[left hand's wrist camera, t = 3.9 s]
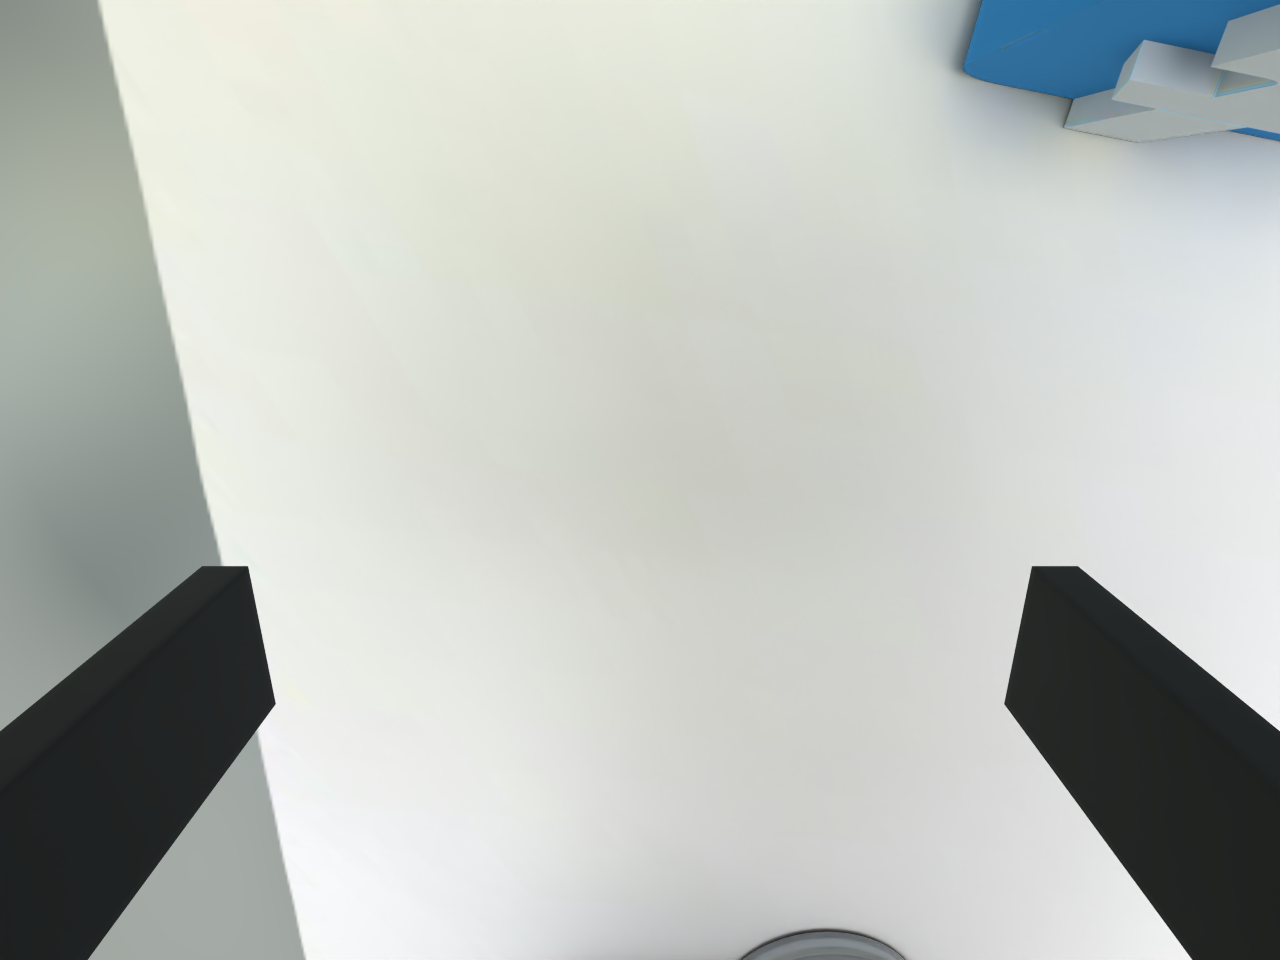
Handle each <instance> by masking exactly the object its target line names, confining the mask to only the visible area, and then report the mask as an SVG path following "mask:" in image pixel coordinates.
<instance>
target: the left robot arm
mask: <svg viewBox="0 0 1280 960" xmlns="http://www.w3.org/2000/svg"><path fill="white" fill-rule="evenodd" d="M275 704H276V703H275V698H274V693H273V688H272V683H271V679H270V674H269V669H268V664H267V659H266V654H265V649H264V644H263V639H262V634H261V629H260V624H259V619H258V614H257V609H256V604H255V599H254V594H253V589H252V584H251V579H250V574H249V569H248V566H202V567H201V568H200V569H198V570H197V571H196V572H195V573H193V574H192V575H191V576H190V577H189V578H187V579H186V580H185V581H184V582H182V583H181V584H180V585H179V586H178V587H176V588H175V589H174V590H173V591H171V592H170V593H169V594H168V595H167V596H165V597H164V598H163V599H162V600H160V601H159V602H158V603H157V604H156V605H154V606H153V607H152V608H151V609H149V610H148V611H147V612H146V613H144V614H143V615H142V616H141V617H140V618H138V619H137V620H136V621H135V622H133V623H132V624H131V625H130V626H129V627H127V628H126V629H125V630H124V631H123V632H121V633H120V634H119V635H118V636H116V637H115V638H114V639H113V640H111V641H110V642H109V643H108V644H107V645H105V646H104V647H103V648H102V649H100V650H99V651H98V652H97V653H96V654H94V655H93V656H92V657H91V658H89V659H88V660H87V661H86V662H85V663H83V664H82V665H81V666H80V667H78V668H77V669H76V670H75V671H74V672H72V673H71V674H70V675H69V676H67V677H66V678H65V679H64V680H63V681H61V682H60V683H59V684H58V685H56V686H55V687H54V688H53V689H52V690H50V691H49V692H48V693H47V694H45V695H44V696H43V697H42V698H41V699H39V700H38V701H37V702H36V703H34V704H33V705H32V706H31V707H29V708H28V709H27V710H26V711H25V712H23V713H22V714H21V715H20V716H18V717H17V718H16V719H15V720H14V721H12V722H11V723H10V724H9V725H7V726H6V727H5V728H4V729H3V730H1V731H0V960H88V959H89V957H90V956H91V954H92V953H93V952H94V950H95V949H96V948H97V946H98V945H99V944H100V942H101V941H102V939H103V938H104V937H105V935H106V934H107V933H108V931H109V930H110V929H111V927H112V926H113V925H114V923H115V922H116V920H117V919H118V918H119V916H120V915H121V914H122V912H123V911H124V910H125V908H126V907H127V905H128V904H129V903H130V901H131V900H132V899H133V897H134V896H135V894H136V893H137V892H138V891H139V889H140V888H141V886H142V885H143V884H144V882H145V881H146V880H147V878H148V877H149V876H150V874H151V873H152V871H153V870H154V869H155V867H156V866H157V865H158V863H159V862H160V861H161V859H162V858H163V857H164V855H165V854H166V852H167V851H168V850H169V848H170V847H171V846H172V844H173V843H174V842H175V840H176V839H177V837H178V836H179V835H180V833H181V832H182V831H183V829H184V828H185V827H186V825H187V824H188V823H189V821H190V820H191V818H192V817H193V816H194V814H195V813H196V812H197V810H198V809H199V808H200V806H201V805H202V803H203V802H204V801H205V799H206V798H207V797H208V795H209V794H210V793H211V791H212V790H213V788H214V787H215V786H216V784H217V783H218V782H219V780H220V779H221V778H222V776H223V775H224V774H225V772H226V771H227V769H228V768H229V767H230V765H231V764H232V763H233V761H234V760H235V759H236V757H237V756H238V755H239V753H240V752H241V750H242V749H243V748H244V746H245V745H246V744H247V742H248V741H249V740H250V738H251V737H252V735H253V734H254V733H255V731H256V730H257V729H258V727H259V726H260V725H261V723H262V722H263V721H264V719H265V718H266V716H267V715H268V714H269V712H270V711H271V710H272V708H273V707H274V706H275ZM1004 704H1005V706H1006V707H1007V708H1008V710H1009V711H1010V712H1011V714H1012V715H1013V716H1014V718H1015V719H1016V721H1017V722H1018V723H1019V725H1020V726H1021V727H1022V729H1023V730H1024V731H1025V733H1026V734H1027V735H1028V737H1029V738H1030V740H1031V741H1032V742H1033V744H1034V745H1035V746H1036V748H1037V749H1038V750H1039V752H1040V753H1041V755H1042V756H1043V757H1044V759H1045V760H1046V761H1047V763H1048V764H1049V765H1050V767H1051V768H1052V769H1053V771H1054V772H1055V774H1056V775H1057V776H1058V778H1059V779H1060V780H1061V782H1062V783H1063V784H1064V786H1065V787H1066V789H1067V790H1068V791H1069V793H1070V794H1071V795H1072V797H1073V798H1074V799H1075V801H1076V802H1077V803H1078V805H1079V806H1080V808H1081V809H1082V810H1083V812H1084V813H1085V814H1086V816H1087V817H1088V818H1089V820H1090V821H1091V823H1092V824H1093V825H1094V827H1095V828H1096V829H1097V831H1098V832H1099V833H1100V835H1101V836H1102V837H1103V839H1104V840H1105V842H1106V843H1107V844H1108V846H1109V847H1110V848H1111V850H1112V851H1113V852H1114V854H1115V855H1116V857H1117V858H1118V859H1119V861H1120V862H1121V863H1122V865H1123V866H1124V867H1125V869H1126V870H1127V871H1128V873H1129V874H1130V876H1131V877H1132V878H1133V880H1134V881H1135V882H1136V884H1137V885H1138V886H1139V888H1140V889H1141V891H1142V892H1143V893H1144V895H1145V896H1146V897H1147V899H1148V900H1149V901H1150V903H1151V904H1152V905H1153V907H1154V908H1155V910H1156V911H1157V912H1158V914H1159V915H1160V916H1161V918H1162V919H1163V920H1164V922H1165V923H1166V925H1167V926H1168V927H1169V929H1170V930H1171V931H1172V933H1173V934H1174V935H1175V937H1176V938H1177V939H1178V941H1179V942H1180V944H1181V945H1182V946H1183V948H1184V949H1185V950H1186V952H1187V953H1188V954H1189V956H1190V957H1191V959H1192V960H1280V731H1279V730H1277V729H1276V728H1275V727H1274V726H1273V725H1271V724H1270V723H1269V722H1268V721H1266V720H1265V719H1264V718H1263V717H1262V716H1260V715H1259V714H1258V713H1257V712H1255V711H1254V710H1253V709H1252V708H1251V707H1249V706H1248V705H1247V704H1246V703H1244V702H1243V701H1242V700H1241V699H1240V698H1238V697H1237V696H1236V695H1235V694H1233V693H1232V692H1231V691H1230V690H1229V689H1227V688H1226V687H1225V686H1224V685H1222V684H1221V683H1220V682H1219V681H1217V680H1216V679H1215V678H1214V677H1213V676H1211V675H1210V674H1209V673H1208V672H1206V671H1205V670H1204V669H1203V668H1202V667H1200V666H1199V665H1198V664H1197V663H1195V662H1194V661H1193V660H1192V659H1191V658H1189V657H1188V656H1187V655H1186V654H1184V653H1183V652H1182V651H1181V650H1180V649H1178V648H1177V647H1176V646H1175V645H1173V644H1172V643H1171V642H1170V641H1169V640H1167V639H1166V638H1165V637H1164V636H1162V635H1161V634H1160V633H1159V632H1158V631H1156V630H1155V629H1154V628H1153V627H1151V626H1150V625H1149V624H1148V623H1147V622H1145V621H1144V620H1143V619H1142V618H1140V617H1139V616H1138V615H1137V614H1136V613H1134V612H1133V611H1132V610H1131V609H1129V608H1128V607H1127V606H1126V605H1125V604H1123V603H1122V602H1121V601H1120V600H1118V599H1117V598H1116V597H1115V596H1114V595H1112V594H1111V593H1110V592H1109V591H1107V590H1106V589H1105V588H1104V587H1102V586H1101V585H1100V584H1099V583H1098V582H1096V581H1095V580H1094V579H1093V578H1091V577H1090V576H1089V575H1088V574H1087V573H1085V572H1084V571H1083V570H1082V569H1080V568H1079V567H1078V566H1032V569H1031V574H1030V579H1029V584H1028V589H1027V594H1026V599H1025V604H1024V609H1023V614H1022V619H1021V624H1020V629H1019V634H1018V639H1017V644H1016V649H1015V654H1014V659H1013V664H1012V669H1011V674H1010V678H1009V683H1008V688H1007V693H1006V698H1005V703H1004ZM743 960H905V959H904V958H902V957H901V956H900V955H899V954H898V953H896V952H895V951H894V950H892V949H891V948H889V947H887V946H886V945H884V944H882V943H880V942H877V941H875V940H872V939H870V938H867V937H863V936H859V935H855V934H849V933H842V932H812V933H804V934H798V935H794V936H790V937H786V938H783V939H780V940H777V941H774V942H772V943H769V944H767V945H765V946H763V947H761V948H759V949H757V950H756V951H754V952H753V953H751V954H749V955H748V956H747V957H745V958H744V959H743Z"/></svg>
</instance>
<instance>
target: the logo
mask: <svg viewBox="0 0 1280 960" xmlns="http://www.w3.org/2000/svg"><path fill="white" fill-rule="evenodd" d="M963 70H964V71H965V72H966V73H967V74H969V75H971V76H973V77H975V78H978V79H981V80H984V81H988V82H992V83H996V84H1001V85H1006V86H1011V87H1016V88H1021V89H1026V90H1031V91H1036V92H1041V93H1046V94H1051V95H1055V96H1060V97H1065V98H1070V99H1074V100H1073V103H1072V106H1071V109H1070V112H1069V115H1068V118H1067V121H1066V124H1065V127H1064V128H1068V129H1073V130H1078V131H1083V132H1088V133H1093V134H1098V135H1103V136H1107V137H1112V138H1117V139H1122V140H1127V141H1132V142H1137V143H1141V142H1148V141H1155V140H1162V139H1169V138H1176V137H1183V136H1190V135H1197V134H1204V133H1211V132H1218V131H1225V130H1229V131H1234V132H1239V133H1243V134H1248V135H1253V136H1258V137H1263V138H1268V139H1273V140H1278V141H1280V0H982V4H981V7H980V11H979V14H978V18H977V21H976V25H975V28H974V32H973V35H972V39H971V42H970V45H969V49H968V52H967V56H966V59H965V63H964V66H963Z"/></svg>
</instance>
